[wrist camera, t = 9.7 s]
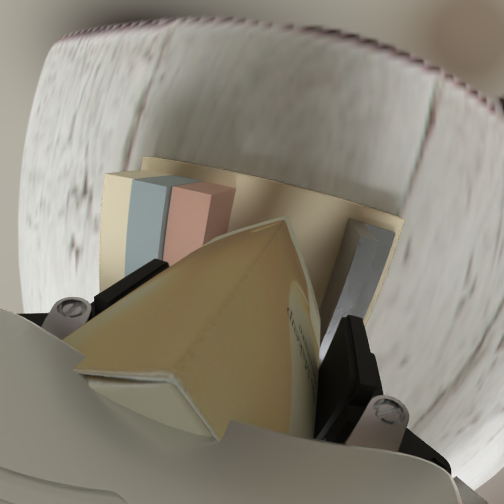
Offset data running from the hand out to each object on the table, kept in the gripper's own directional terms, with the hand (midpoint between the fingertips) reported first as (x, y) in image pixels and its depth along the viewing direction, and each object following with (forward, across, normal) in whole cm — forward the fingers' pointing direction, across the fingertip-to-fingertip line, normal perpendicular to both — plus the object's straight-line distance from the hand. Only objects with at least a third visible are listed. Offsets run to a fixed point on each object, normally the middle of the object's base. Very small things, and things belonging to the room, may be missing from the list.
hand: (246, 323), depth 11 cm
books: (+10, +8, +1) cm, 13 cm away
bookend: (+10, -6, +1) cm, 12 cm away
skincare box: (+5, 0, 0) cm, 5 cm away
